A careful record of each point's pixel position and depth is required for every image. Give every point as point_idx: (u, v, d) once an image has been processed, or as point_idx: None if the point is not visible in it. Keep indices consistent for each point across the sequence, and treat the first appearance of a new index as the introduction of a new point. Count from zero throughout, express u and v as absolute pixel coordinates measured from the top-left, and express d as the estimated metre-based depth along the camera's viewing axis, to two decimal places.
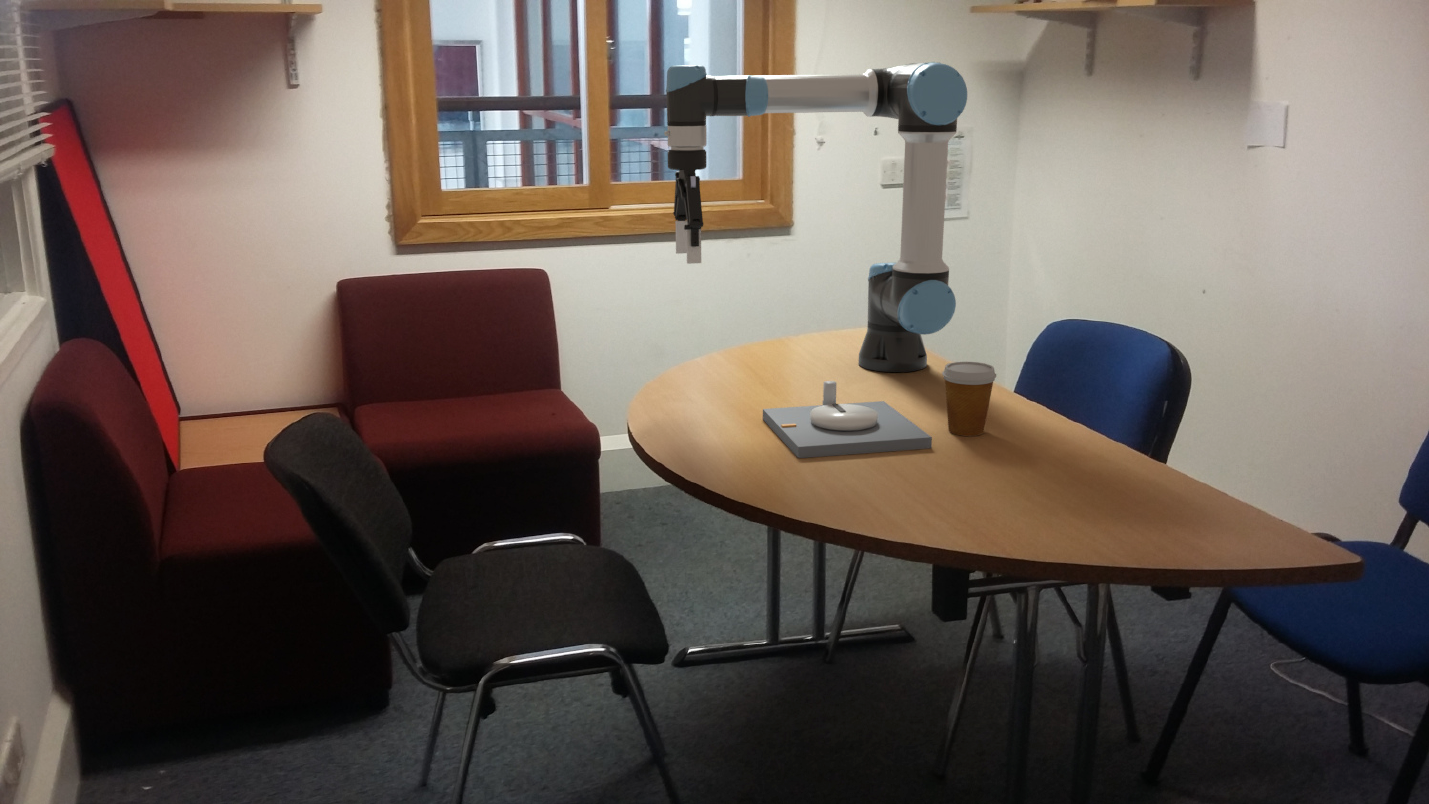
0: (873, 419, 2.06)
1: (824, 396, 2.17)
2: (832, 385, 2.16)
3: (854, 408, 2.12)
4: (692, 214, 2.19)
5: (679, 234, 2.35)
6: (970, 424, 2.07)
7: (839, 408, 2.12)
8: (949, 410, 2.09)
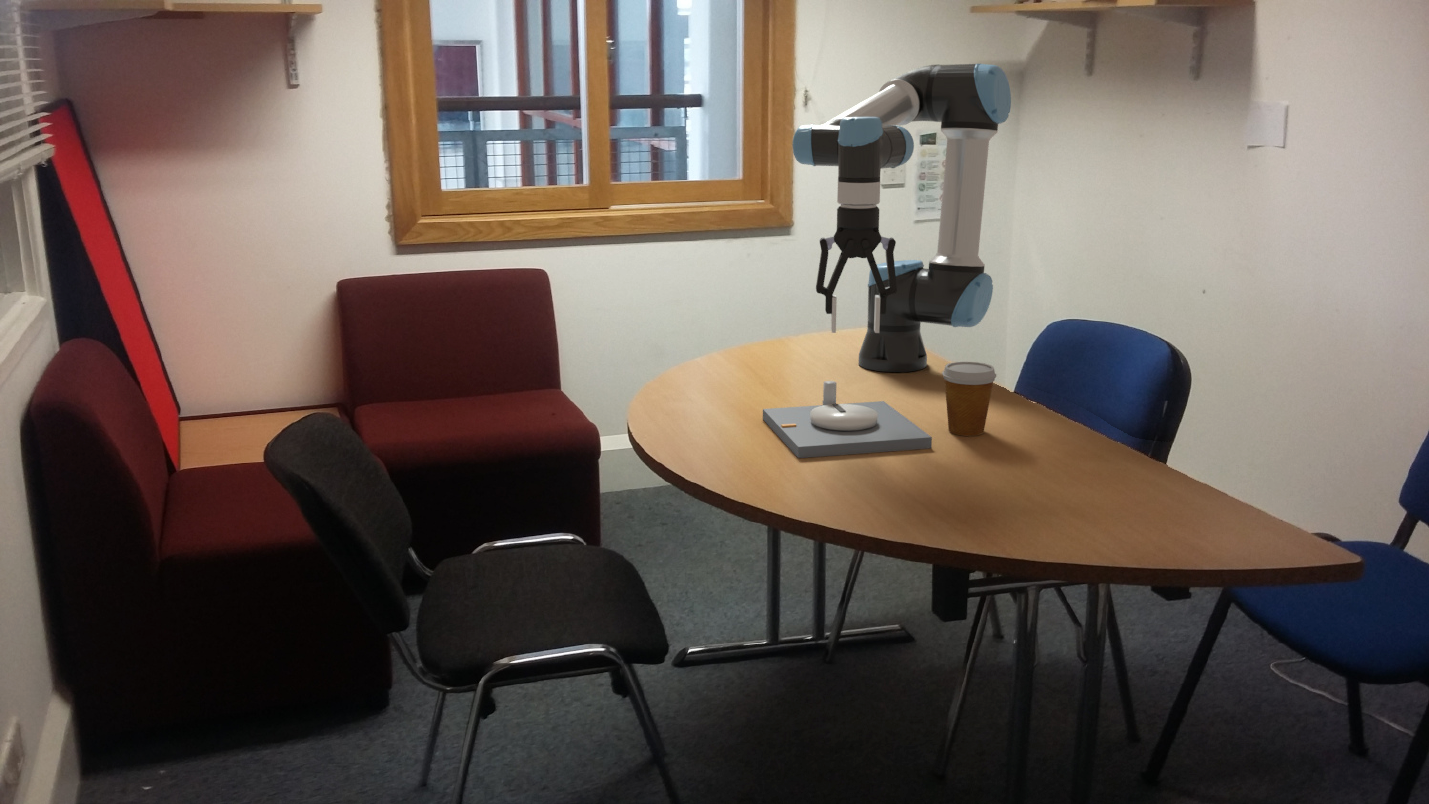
0: (873, 419, 2.06)
1: (824, 396, 2.17)
2: (832, 385, 2.16)
3: (854, 408, 2.12)
4: (817, 279, 2.12)
5: None
6: (970, 424, 2.07)
7: (839, 408, 2.12)
8: (949, 410, 2.09)
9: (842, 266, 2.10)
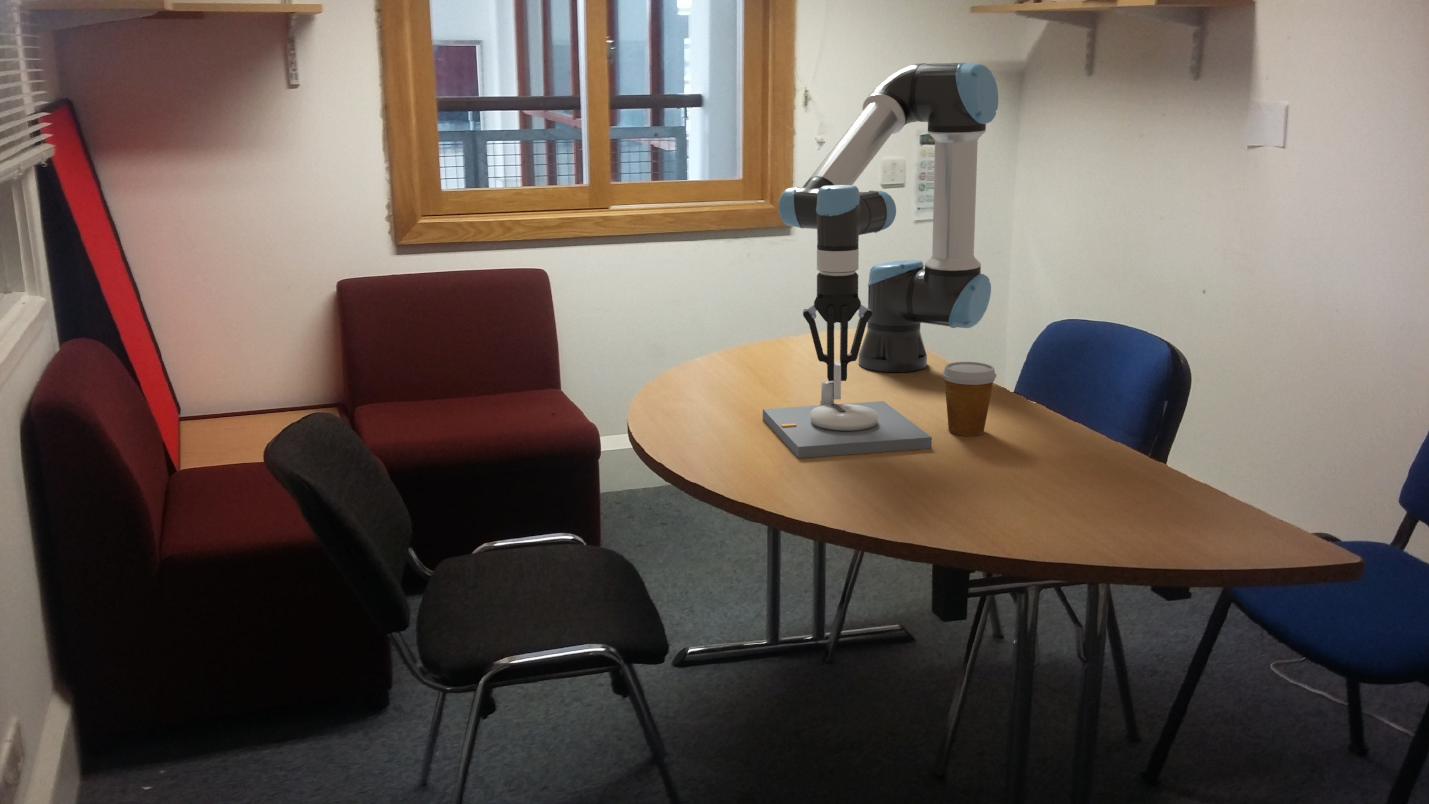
0: (873, 419, 2.06)
1: (822, 396, 2.17)
2: (830, 385, 2.16)
3: (854, 408, 2.12)
4: None
5: None
6: (970, 424, 2.07)
7: (838, 408, 2.12)
8: (949, 410, 2.09)
9: (832, 332, 2.13)
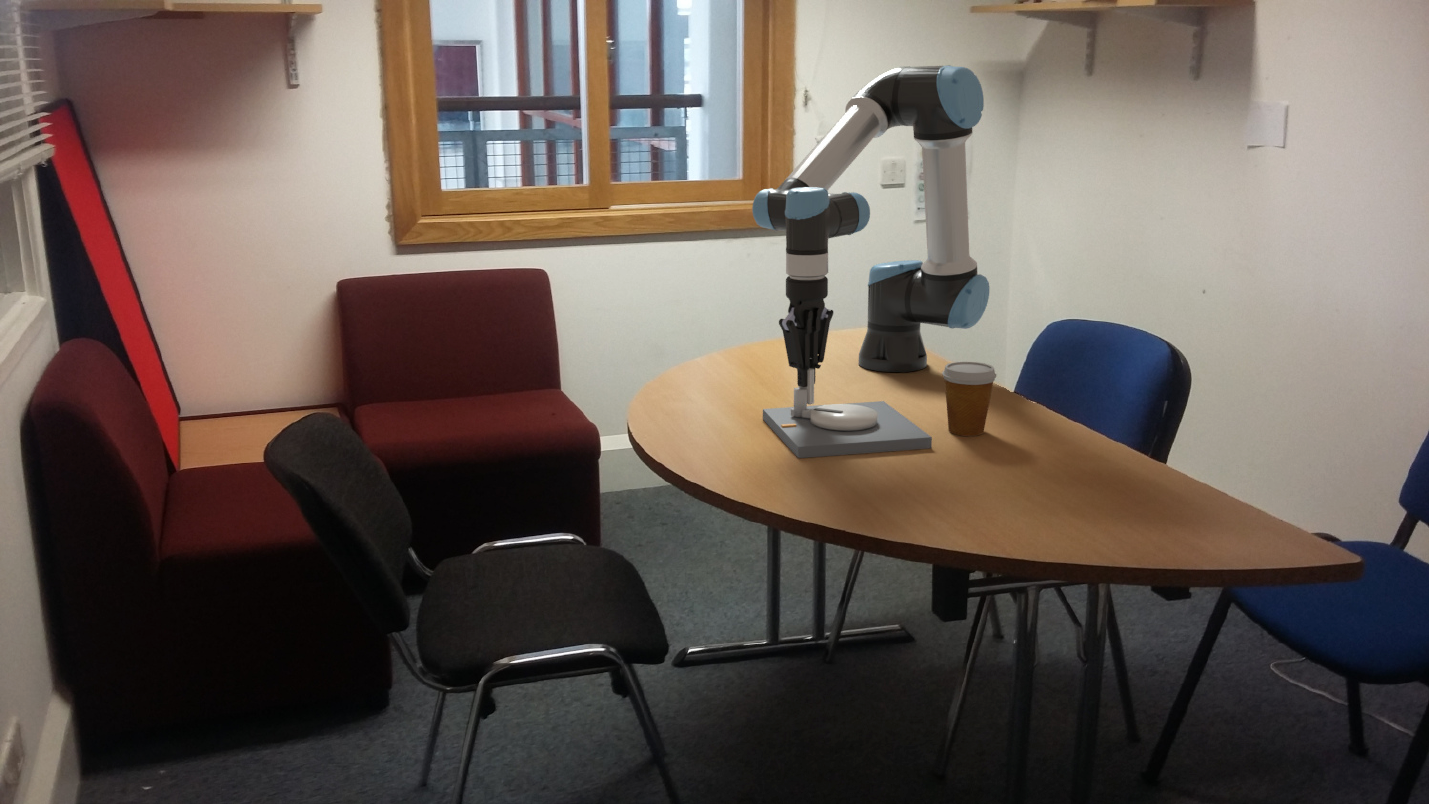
0: None
1: (799, 404, 2.12)
2: (806, 391, 2.12)
3: (838, 407, 2.13)
4: (789, 357, 2.09)
5: None
6: (970, 424, 2.07)
7: (831, 410, 2.10)
8: (949, 410, 2.09)
9: (808, 337, 2.09)
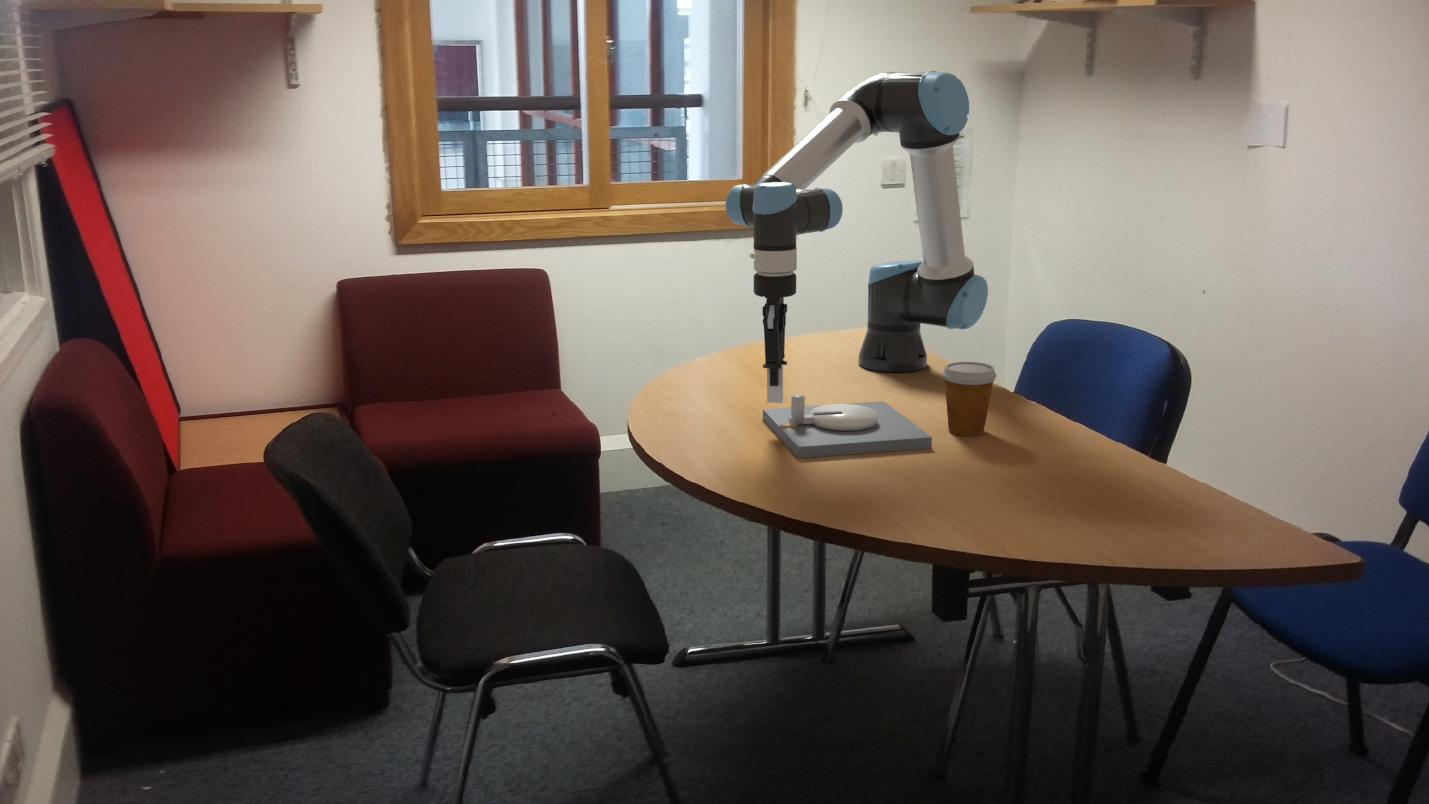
0: (862, 407, 2.14)
1: (800, 411, 2.07)
2: None
3: (828, 409, 2.12)
4: (768, 356, 2.04)
5: None
6: (970, 424, 2.07)
7: (831, 412, 2.09)
8: (949, 410, 2.09)
9: (780, 334, 2.06)
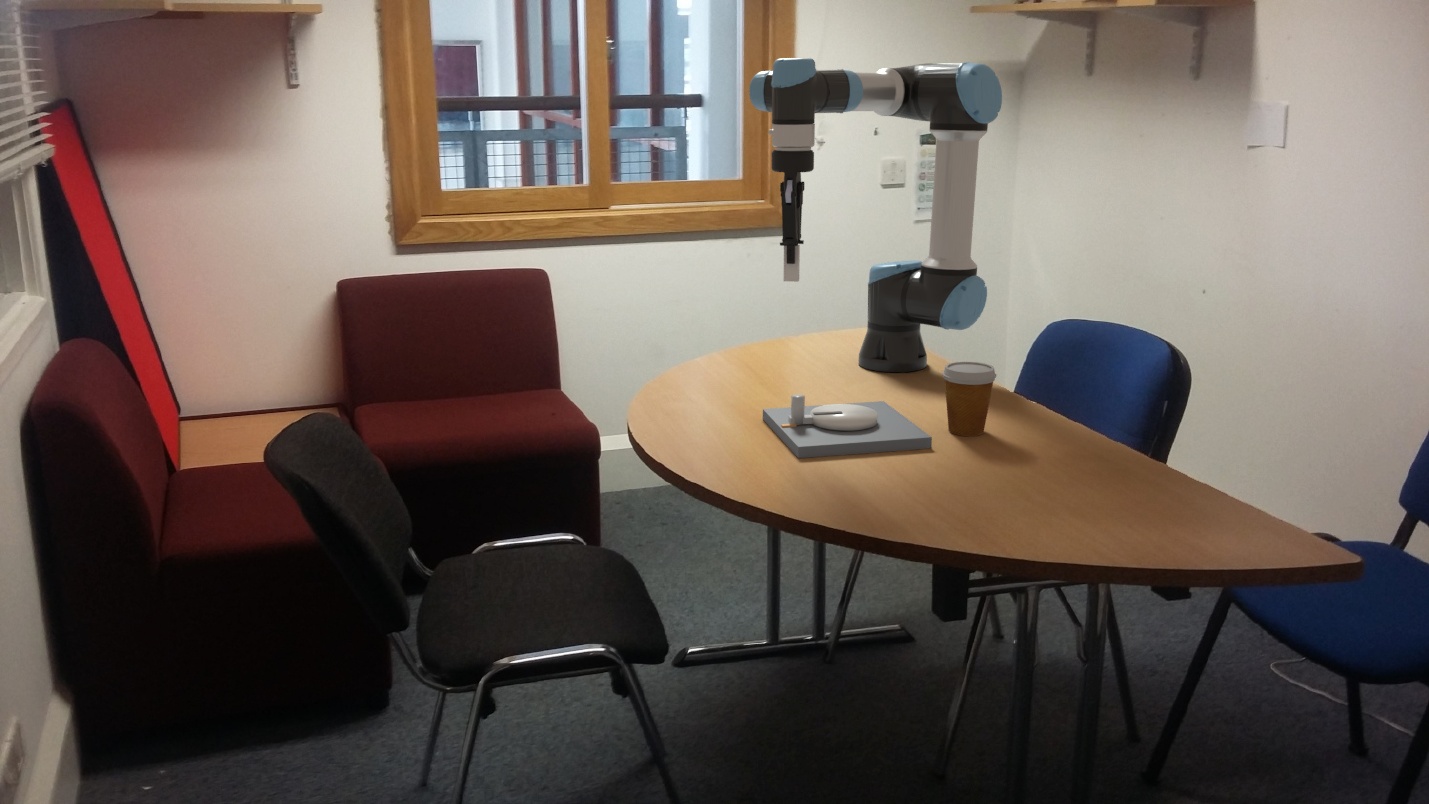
0: (862, 407, 2.14)
1: (800, 411, 2.07)
2: None
3: (828, 409, 2.12)
4: (785, 232, 2.06)
5: None
6: (970, 424, 2.07)
7: (831, 412, 2.09)
8: (949, 410, 2.09)
9: None
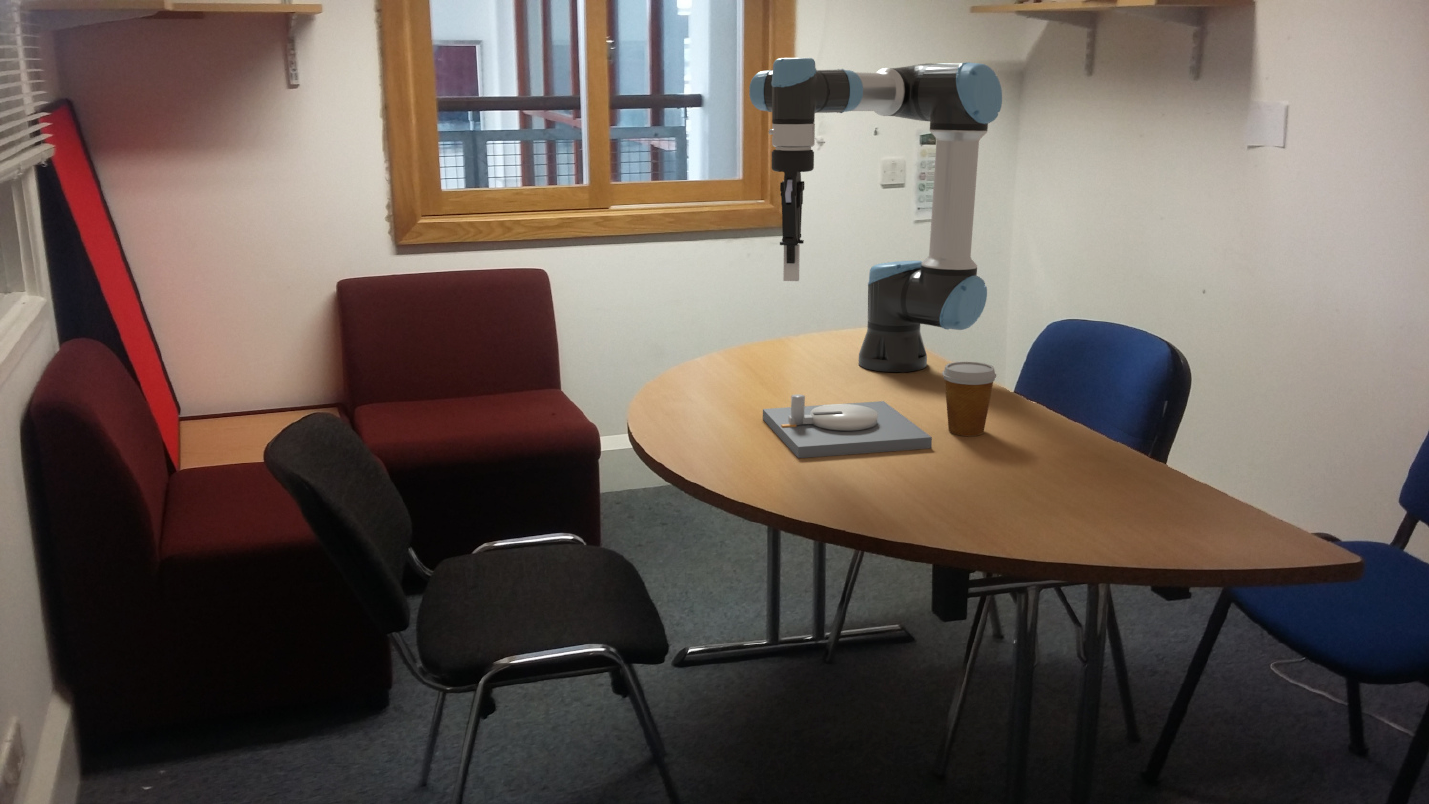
0: (862, 407, 2.14)
1: (800, 411, 2.07)
2: None
3: (828, 409, 2.12)
4: (785, 232, 2.06)
5: None
6: (970, 424, 2.07)
7: (831, 412, 2.09)
8: (949, 410, 2.09)
9: None
